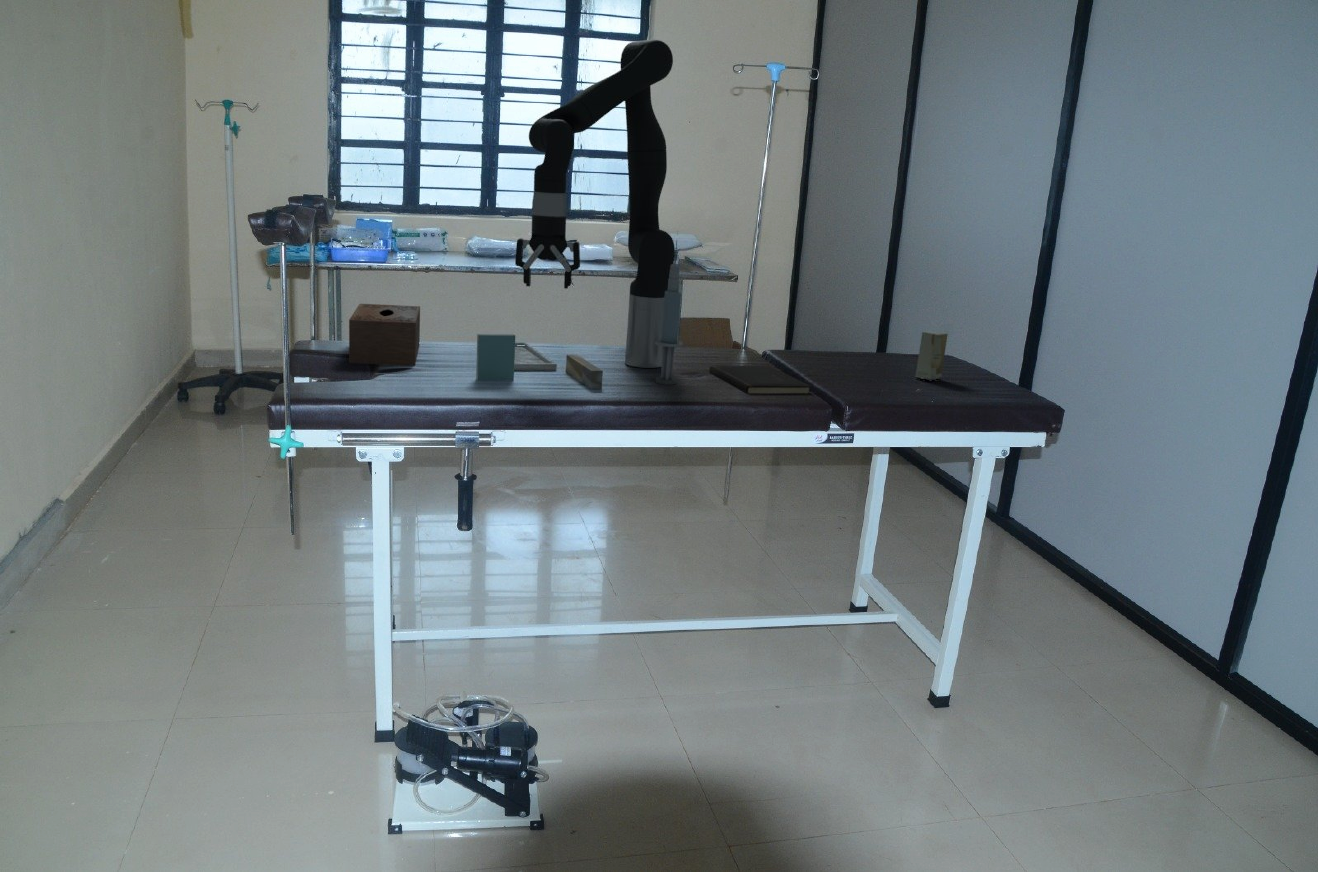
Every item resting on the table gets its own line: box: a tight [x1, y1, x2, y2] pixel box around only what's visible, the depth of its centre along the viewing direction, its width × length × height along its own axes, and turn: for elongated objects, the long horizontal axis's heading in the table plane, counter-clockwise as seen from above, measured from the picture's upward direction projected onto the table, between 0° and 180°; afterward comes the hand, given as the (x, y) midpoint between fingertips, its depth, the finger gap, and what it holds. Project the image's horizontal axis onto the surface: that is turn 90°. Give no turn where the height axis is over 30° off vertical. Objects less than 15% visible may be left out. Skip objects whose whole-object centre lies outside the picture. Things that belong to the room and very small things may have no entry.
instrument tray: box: [514, 341, 558, 372], centre depth 248 cm, size 12×28×2 cm, turn 22°
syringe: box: [655, 230, 684, 385], centre depth 230 cm, size 5×6×35 cm
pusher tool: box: [565, 354, 604, 390], centre depth 230 cm, size 3×18×4 cm, turn 22°
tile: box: [475, 333, 516, 382], centre depth 223 cm, size 8×2×10 cm, turn 112°
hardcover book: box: [708, 364, 812, 395], centre depth 242 cm, size 16×23×2 cm
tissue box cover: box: [348, 303, 421, 366], centre depth 242 cm, size 26×14×10 cm, turn 11°
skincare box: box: [915, 330, 949, 379], centre depth 261 cm, size 6×4×12 cm
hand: (547, 287), depth 230 cm, fingers open, 8 cm apart
